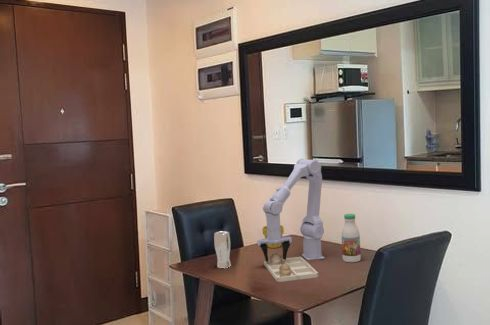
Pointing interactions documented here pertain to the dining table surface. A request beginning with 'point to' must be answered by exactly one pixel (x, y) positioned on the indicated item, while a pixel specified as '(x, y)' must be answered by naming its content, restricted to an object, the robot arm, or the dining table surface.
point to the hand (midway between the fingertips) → (275, 260)
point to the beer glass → (222, 248)
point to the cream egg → (275, 259)
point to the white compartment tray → (292, 269)
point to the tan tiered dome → (284, 270)
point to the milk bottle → (350, 240)
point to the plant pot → (267, 237)
